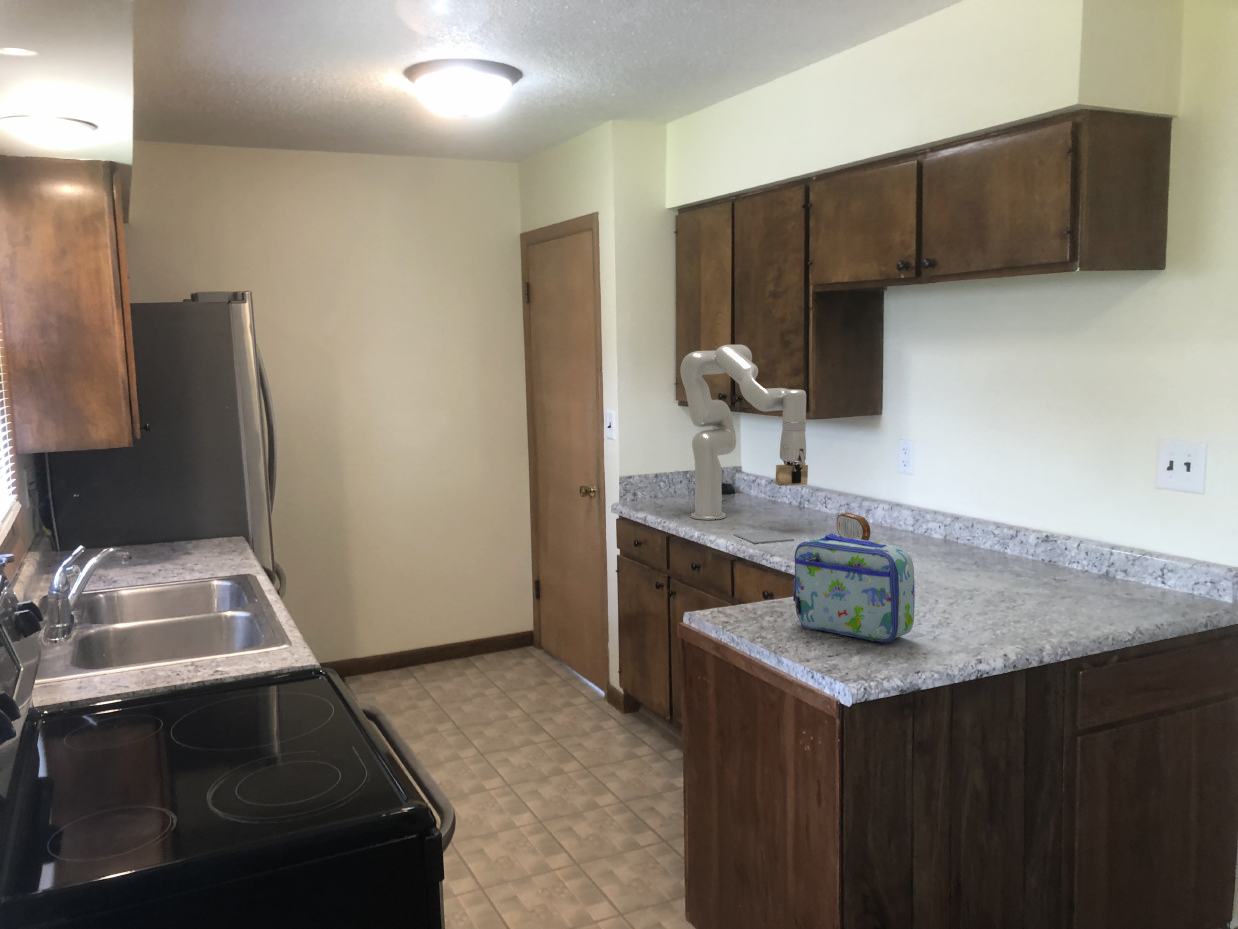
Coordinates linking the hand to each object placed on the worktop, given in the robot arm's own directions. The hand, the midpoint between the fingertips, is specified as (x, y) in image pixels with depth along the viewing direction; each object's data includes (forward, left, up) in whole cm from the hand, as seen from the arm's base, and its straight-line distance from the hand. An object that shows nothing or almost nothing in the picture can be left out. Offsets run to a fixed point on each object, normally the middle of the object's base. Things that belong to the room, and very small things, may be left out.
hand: (793, 481), depth 318 cm
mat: (+6, -14, -17) cm, 23 cm away
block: (0, -1, -1) cm, 1 cm away
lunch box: (+103, -44, -17) cm, 113 cm away
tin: (+20, +10, -17) cm, 28 cm away
